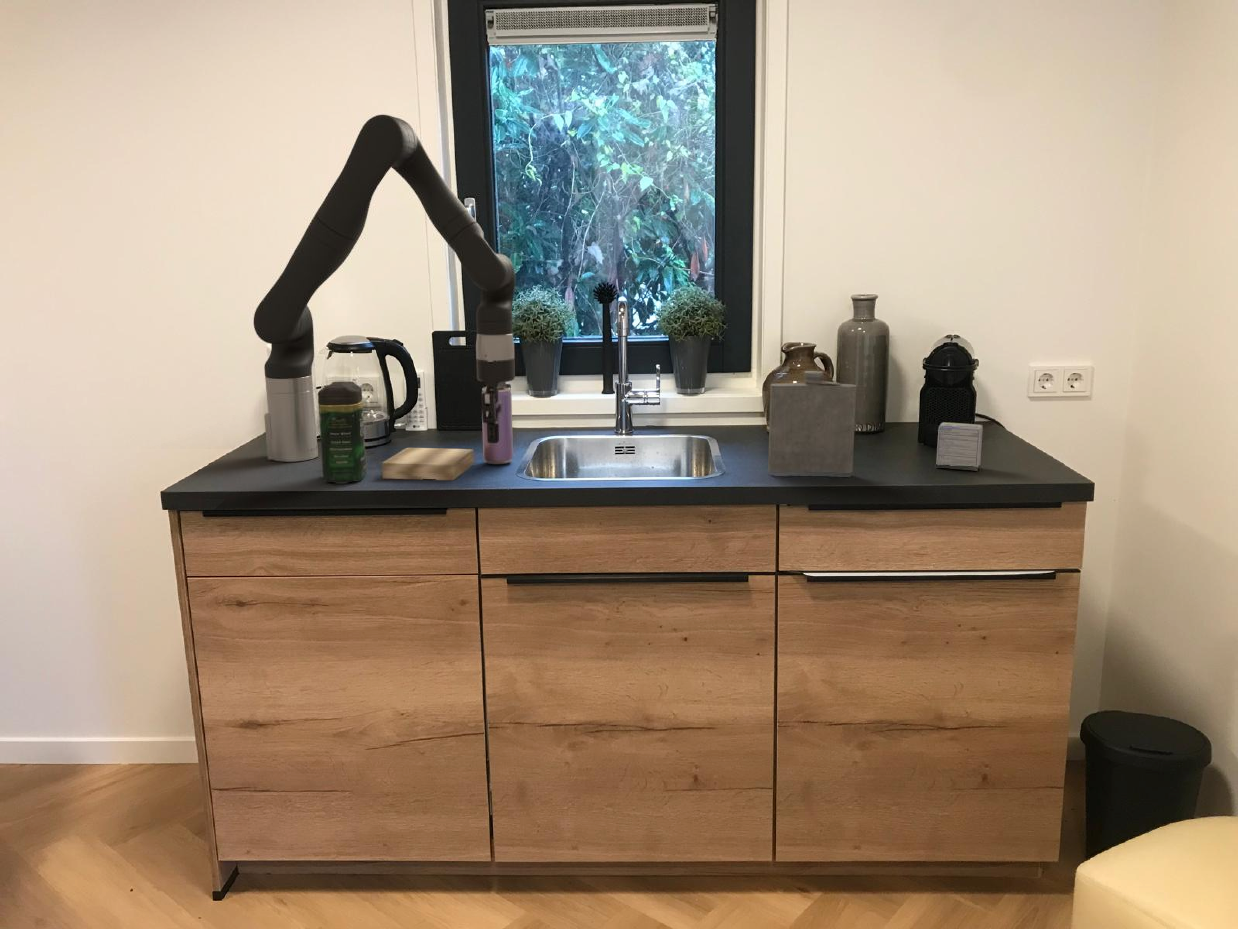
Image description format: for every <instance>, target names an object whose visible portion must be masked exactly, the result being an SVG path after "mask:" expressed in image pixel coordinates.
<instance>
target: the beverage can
mask: <svg viewBox="0 0 1238 929" xmlns="http://www.w3.org/2000/svg"><path fill="white" fill-rule="evenodd" d="M481 390H482V391H481V394H482V393H486V386H484V387H482V388H481ZM512 396H513V395H512V390H511V391H510V387H506V386H505V388H502V389H501V390H498V402H497V403H495V407H496V408H498V406H499V402H500V401H501V400H502V413H500V414H499V442H498V443H489V442H488V441H487V424H486V423H483V420H482V419H483V417H482V416H481V421H482V424H481V428H482V453H483V454H482V456H483V457H482V458H483V460H484V462H485V463H486V464H490V465H491V464H492V465H504V464H508V463H511V462H512V460H513V459H514V451H513V450H514V448H513V444H514V443H513V442H514V441H513V440H514V439H513V407H512V406H513V403H512V402H513V401H512V400H513V398H512ZM489 417H492V413H490V414H489Z"/></svg>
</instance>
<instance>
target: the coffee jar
mask: <svg viewBox="0 0 1238 929" xmlns="http://www.w3.org/2000/svg"><path fill="white" fill-rule="evenodd" d="M362 391H363V390H362V387H361V386H359V384H356V383H355V382H354V381H333V382H332V383H330V384H328V385H326V386H324V387H322V388H321V389H320V390H319V391H318V392H317V403H318V415H319V427H320V428H319V430H320V444H321V446H320V447H321V448H320V449H321V465H322V478H323V480H324V481H325V482H331V483H335V484H347V483H350V482H358V481H361V480H362V479H363V478H364V477H365V476H366V475H367V459H366V444H365V443H366V442H365V441H366V440H365V426H364V424H365V423H364V407H363V406H364V405H363V404H364V403H363V402H364V401H363V396H362V395H363V393H362Z"/></svg>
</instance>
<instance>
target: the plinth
mask: <svg viewBox="0 0 1238 929" xmlns="http://www.w3.org/2000/svg"><path fill="white" fill-rule="evenodd" d="M474 453H475V451H474V449H473V448H469V449H467V448H440V447H439V448H436V447H435V448H434V447H433V448H432V447H406V448H404V449H402V450H400V451H399V452H397V453H396V454H394V455H392V456H391V457H389V458H388V459H386V460H384V461H383V462H381V469H382V479H398V480H423V479H436V480H435V481H455V480H456V479H457V478H458V477H460V475H462V474H463V473H464V472H466V471H468V469H469V468H471V467H472V466H473V465H475V454H474Z"/></svg>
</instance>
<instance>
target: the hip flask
mask: <svg viewBox="0 0 1238 929" xmlns="http://www.w3.org/2000/svg"><path fill="white" fill-rule="evenodd" d="M803 377H804V382H799V383H798V382H791V383H790V382H788V383H787V382H785V383H784V382H781V383H771V384H770V390H769V392H770V398H769V429H768V430H769V432H768V434H769V436H768V463H767V466H768V468H767V473H768V472H770V473H787V472H835V473H837V472H838V473H851V472H852V473H853V466H854V446H855V445H854V444H855V442H854V441H855V428H856V426H855V423H856V403H857V385H856V384H852V383H851V384H850V383H849V384H848V383H841V382H835V381H823V379H822V378H823V377H824V371H820V370H806V371H803Z"/></svg>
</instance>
